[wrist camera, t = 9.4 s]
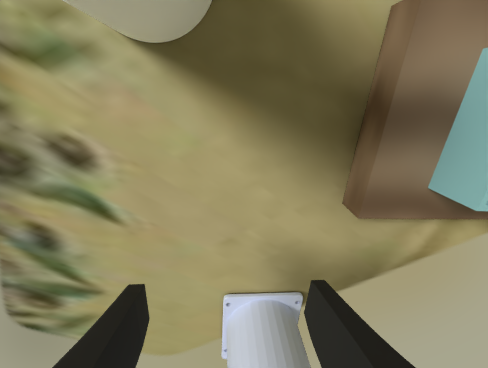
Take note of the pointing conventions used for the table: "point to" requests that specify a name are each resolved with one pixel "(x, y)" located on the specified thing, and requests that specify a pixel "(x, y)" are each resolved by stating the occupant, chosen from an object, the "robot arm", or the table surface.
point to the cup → (146, 16)
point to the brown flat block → (415, 109)
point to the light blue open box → (467, 147)
